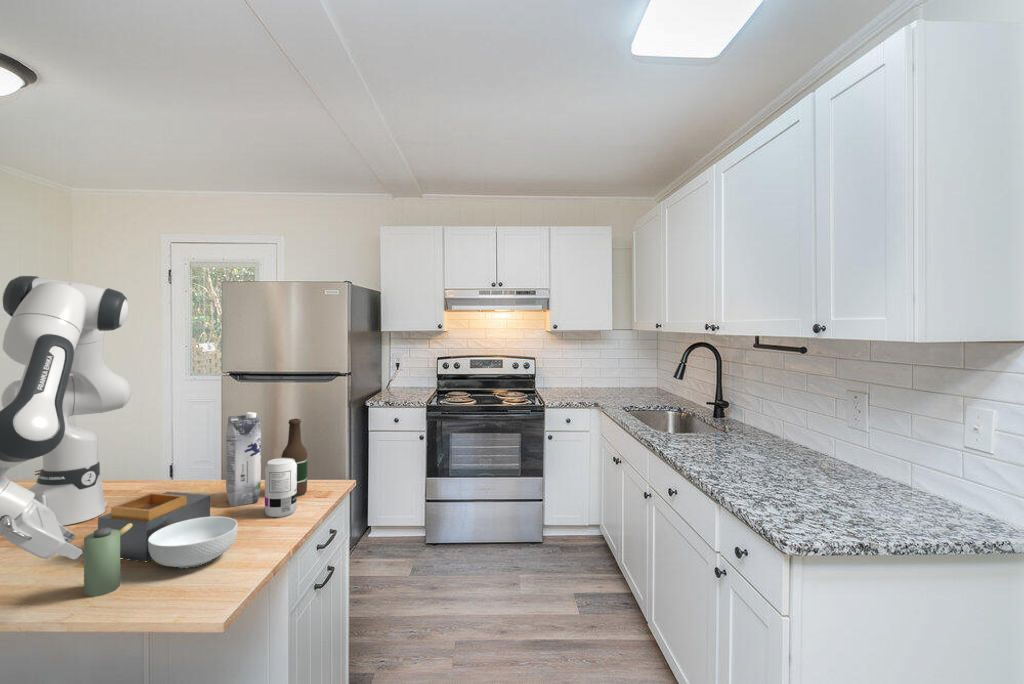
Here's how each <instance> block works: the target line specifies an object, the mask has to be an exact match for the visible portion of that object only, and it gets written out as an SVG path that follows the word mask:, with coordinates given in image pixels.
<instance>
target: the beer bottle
mask: <svg viewBox="0 0 1024 684" xmlns="http://www.w3.org/2000/svg"><path fill="white" fill-rule="evenodd" d="M301 423H302V420H301V419H300V418H292V419H289V421H288V426H289V427H288V438H287V444H286V447H284V449H283V451H282V453H281V457H280V458H292V459H294V460H295V462H296V464H297V497H301V496H305V494H306V493H307V491H308V451H307V449H306V447H305V445H303V443H302V434H301V432H302V431H301V430H302V429H301Z"/></svg>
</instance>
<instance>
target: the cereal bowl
mask: <svg viewBox="0 0 1024 684" xmlns="http://www.w3.org/2000/svg"><path fill="white" fill-rule="evenodd" d="M238 528H239V527H238V521H237V520H236V519H234V518H231V517H228V516H210V517H201V518H195V519H190V520H185V521H181V522H177V523H174V524H171V525H169V526H166V527H164V528H162V529H159V530H158V531H156V532H154V533H153V534H152V535H151V536H150V537H149V538H148V551H149V553H150V556H151V557H152V560H153V561H154V562H155V563H156V564H159V565H161V566H165V567H171V568H172V567H174V568H176V567H179V568H178V569H183V568H185V569H189V568H188V567H193V568H195V567H194V566H197V567H199V566H198V565H201V566H203V565H202V564H204V563H206V564H208V563H210V562H212V561H213V560H214V559H215V558H217V557H219V556H220V555H223V554H224V553H225V552H226V551H228V550H229V549H230V548H231V547H232V546H233V545H234V542H235V541H236V538H237V535H238V534H237V533H238ZM212 559H213V560H212ZM209 561H210V562H209ZM207 562H208V563H207ZM204 565H205V564H204ZM186 567H187V568H186Z"/></svg>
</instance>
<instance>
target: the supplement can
mask: <svg viewBox="0 0 1024 684" xmlns="http://www.w3.org/2000/svg"><path fill="white" fill-rule="evenodd" d="M297 500H298V499H297V464H296V462H295V460H294V459H292V458H281V457H278V458H274V459H270V460H268V461H267V464H266V465H265V467H264V514H265V515H266V516H267V515H268V516H267V517H269V516H270V517H269V518H273V517H277V518H283V517H288V516H290V515H292V514H293V512H295V511H296V510H297V508H298V507H297V506H298V505H297Z"/></svg>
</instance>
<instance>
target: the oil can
mask: <svg viewBox="0 0 1024 684" xmlns="http://www.w3.org/2000/svg"><path fill="white" fill-rule="evenodd" d="M132 526H133V525H132V524H131V523H129V524H127V525H126V526H125V527H123V528H122V529H121V530H120V531H119V530H115V529H111V528H101V529H98V528H97V529H95V530H94V531H93V532H91V533H90V534H88V535H86V536H85V537H84V538H83V595H84V596H85V597H87V598H93V597H95V598H96V597H99V596H103V595H107V594H109V593H113V592H114V591H116V590H117V589H119V588H118V587H120V586H121V559H120V536H121V535H122V534H124V533H125V532H126V531H128V530H129V529H130V528H131V527H132Z"/></svg>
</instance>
